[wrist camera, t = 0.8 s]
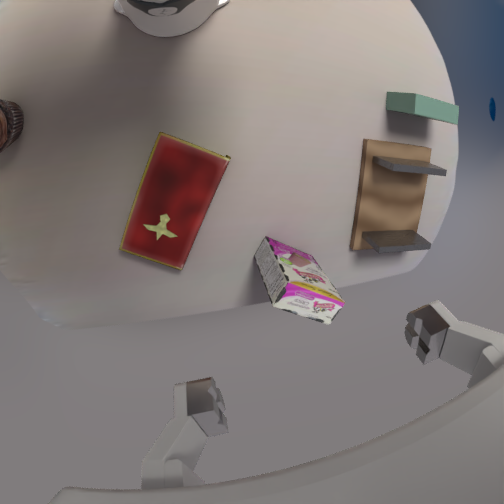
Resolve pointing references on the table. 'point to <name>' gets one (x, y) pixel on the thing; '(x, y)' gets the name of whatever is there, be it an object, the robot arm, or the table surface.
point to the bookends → (401, 238)
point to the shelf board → (388, 191)
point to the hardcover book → (172, 200)
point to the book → (422, 106)
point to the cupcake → (9, 123)
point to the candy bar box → (297, 282)
